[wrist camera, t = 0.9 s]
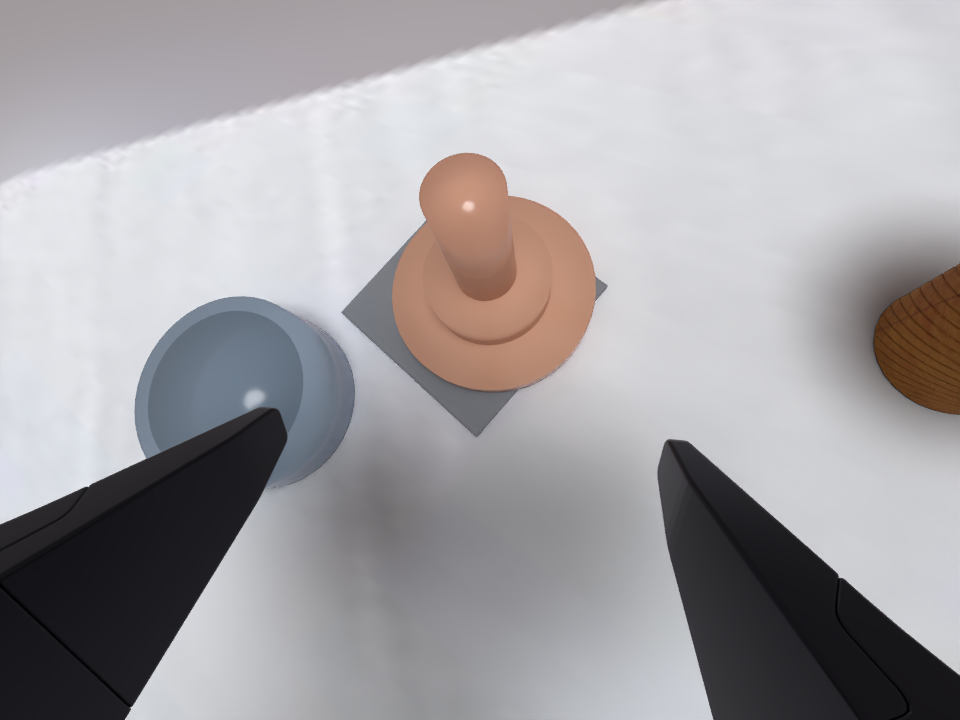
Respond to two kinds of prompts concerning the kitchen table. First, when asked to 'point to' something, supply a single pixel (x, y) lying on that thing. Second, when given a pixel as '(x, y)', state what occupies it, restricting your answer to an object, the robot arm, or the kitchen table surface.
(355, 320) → the mat
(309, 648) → the kitchen table surface
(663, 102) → the kitchen table surface
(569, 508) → the kitchen table surface
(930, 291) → the disposable coffee cup
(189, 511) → the robot arm
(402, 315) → the lid
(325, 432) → the ramekin
